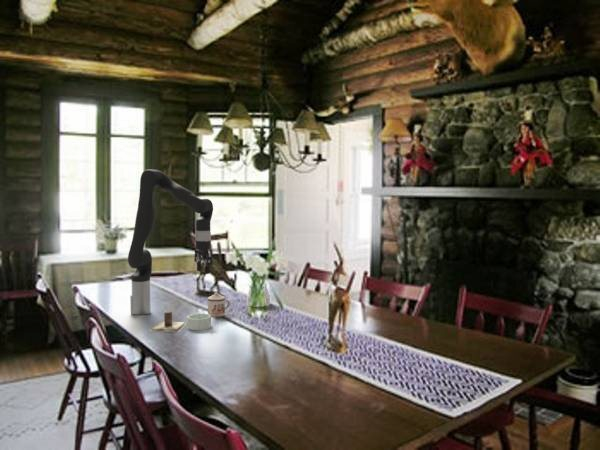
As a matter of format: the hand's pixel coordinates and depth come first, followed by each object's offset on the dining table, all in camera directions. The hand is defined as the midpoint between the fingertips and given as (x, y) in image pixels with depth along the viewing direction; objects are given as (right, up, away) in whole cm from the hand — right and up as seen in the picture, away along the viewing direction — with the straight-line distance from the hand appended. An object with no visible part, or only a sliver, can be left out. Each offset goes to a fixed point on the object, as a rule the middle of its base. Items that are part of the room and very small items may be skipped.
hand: (203, 272), depth 256 cm
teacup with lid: (+6, -23, +12) cm, 27 cm away
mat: (-14, -25, -14) cm, 32 cm away
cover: (-14, -25, -14) cm, 31 cm away
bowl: (0, -25, -13) cm, 28 cm away
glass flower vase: (+24, -22, +35) cm, 48 cm away
